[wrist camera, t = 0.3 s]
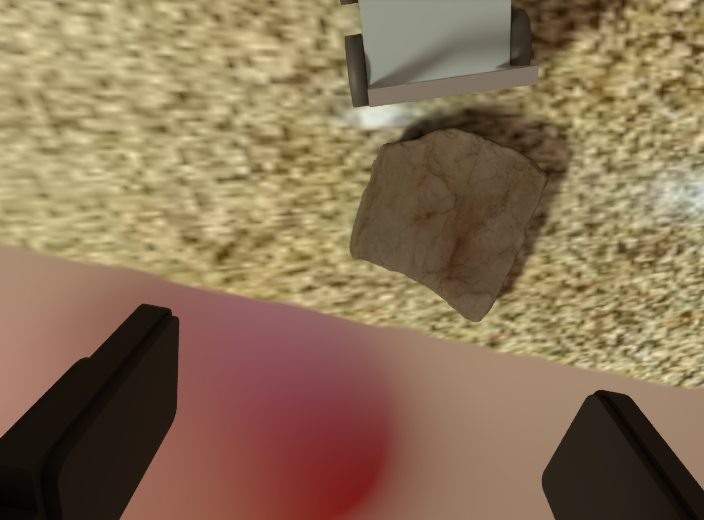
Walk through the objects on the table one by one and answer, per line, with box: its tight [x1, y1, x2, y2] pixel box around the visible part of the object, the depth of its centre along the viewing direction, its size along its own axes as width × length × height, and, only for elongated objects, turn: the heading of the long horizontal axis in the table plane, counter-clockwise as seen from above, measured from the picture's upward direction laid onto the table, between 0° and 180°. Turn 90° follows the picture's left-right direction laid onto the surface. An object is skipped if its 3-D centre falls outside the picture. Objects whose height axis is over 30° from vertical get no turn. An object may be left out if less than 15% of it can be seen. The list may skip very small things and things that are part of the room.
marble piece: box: [350, 127, 548, 322], centre depth 38 cm, size 17×15×4 cm
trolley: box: [340, 0, 538, 107], centre depth 28 cm, size 12×13×10 cm
